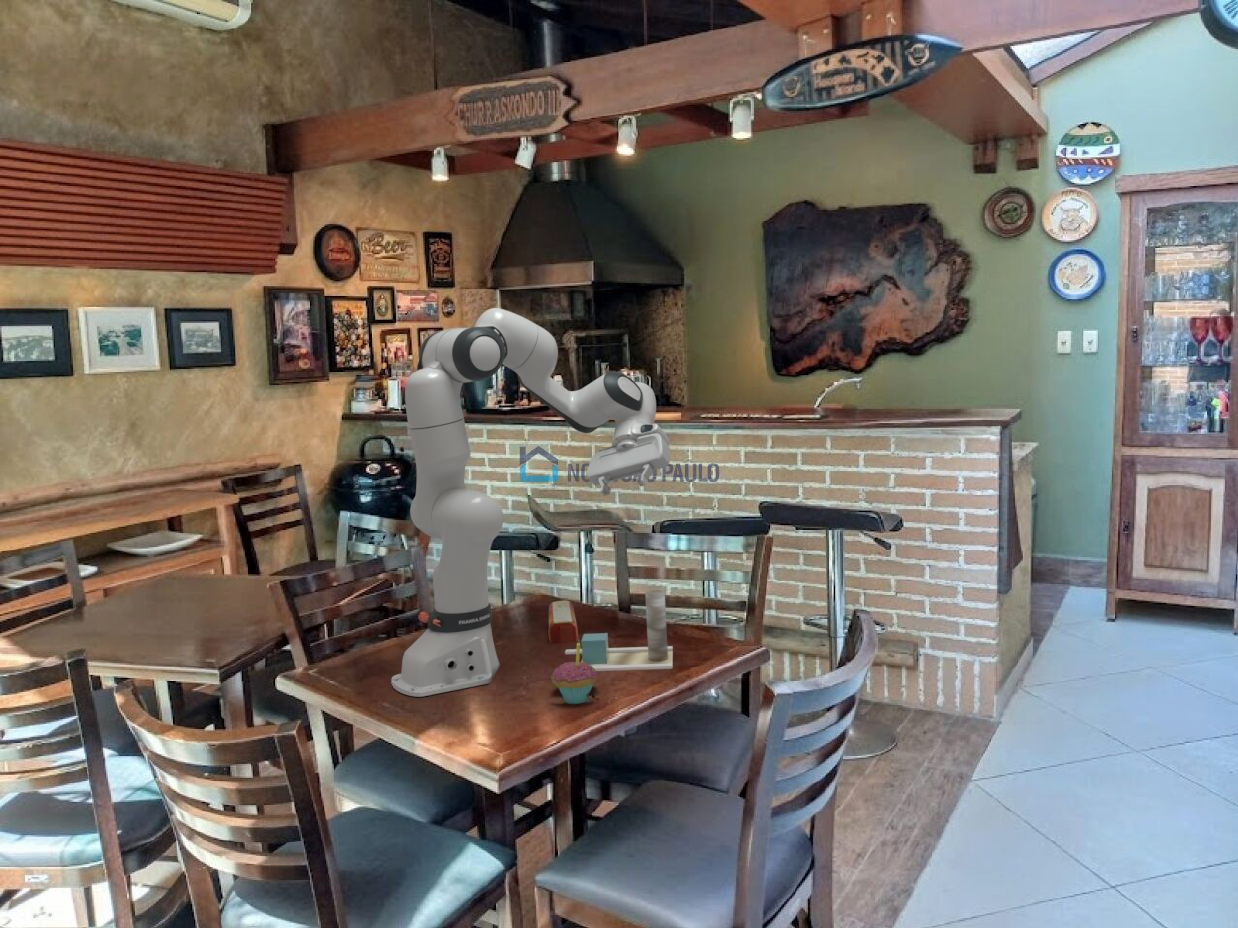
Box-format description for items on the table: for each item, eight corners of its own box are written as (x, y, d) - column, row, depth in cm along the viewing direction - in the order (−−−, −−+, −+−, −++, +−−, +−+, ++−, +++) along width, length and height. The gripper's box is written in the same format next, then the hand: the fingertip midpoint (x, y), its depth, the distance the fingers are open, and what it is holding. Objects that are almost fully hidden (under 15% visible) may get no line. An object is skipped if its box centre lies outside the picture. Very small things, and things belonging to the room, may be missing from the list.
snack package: (549, 625, 224) (547, 598, 223) (576, 623, 224) (574, 596, 224) (549, 651, 203) (547, 621, 202) (579, 649, 203) (577, 619, 203)
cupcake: (607, 697, 172) (603, 636, 170) (574, 711, 166) (570, 647, 164) (576, 688, 178) (573, 628, 176) (543, 701, 172) (539, 639, 170)
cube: (608, 656, 192) (607, 633, 191) (607, 663, 187) (605, 640, 186) (585, 656, 192) (583, 633, 191) (582, 664, 187) (581, 640, 186)
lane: (673, 655, 195) (672, 645, 195) (672, 675, 182) (672, 665, 182) (566, 658, 196) (566, 649, 196) (558, 678, 184) (558, 669, 183)
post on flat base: (673, 656, 193) (669, 586, 191) (672, 670, 184) (669, 597, 182) (584, 659, 194) (579, 589, 193) (579, 673, 185) (575, 600, 184)
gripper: (586, 444, 212) (576, 490, 203) (663, 422, 202) (656, 469, 193) (600, 460, 216) (591, 506, 207) (676, 439, 206) (670, 487, 197)
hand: (623, 488), depth 200 cm, fingers open, 8 cm apart
